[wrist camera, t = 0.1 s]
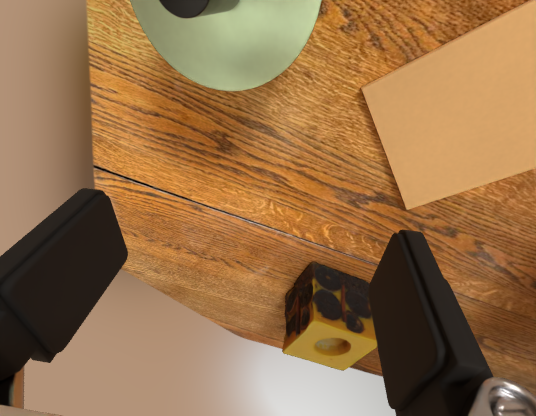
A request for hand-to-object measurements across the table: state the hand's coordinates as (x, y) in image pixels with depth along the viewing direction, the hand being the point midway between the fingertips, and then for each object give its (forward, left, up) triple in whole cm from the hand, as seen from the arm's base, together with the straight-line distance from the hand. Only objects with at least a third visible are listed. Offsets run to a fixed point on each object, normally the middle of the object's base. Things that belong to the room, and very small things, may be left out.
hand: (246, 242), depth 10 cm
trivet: (+12, +14, -23) cm, 29 cm away
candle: (+31, -10, -23) cm, 40 cm away
